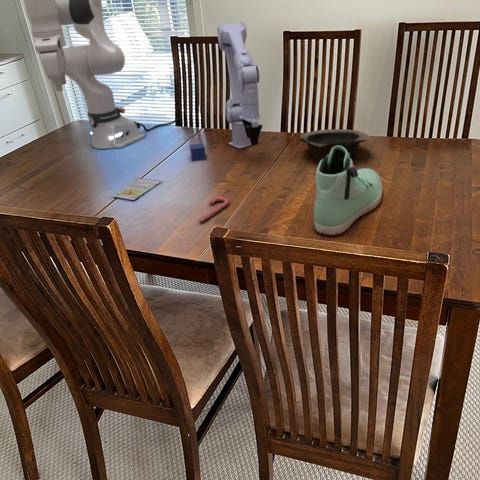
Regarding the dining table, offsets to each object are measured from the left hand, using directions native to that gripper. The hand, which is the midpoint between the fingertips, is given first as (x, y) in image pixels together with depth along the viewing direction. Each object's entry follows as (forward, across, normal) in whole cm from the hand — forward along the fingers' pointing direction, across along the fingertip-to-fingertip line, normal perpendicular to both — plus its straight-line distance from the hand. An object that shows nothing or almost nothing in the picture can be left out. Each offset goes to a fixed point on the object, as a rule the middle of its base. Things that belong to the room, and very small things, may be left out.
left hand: (61, 87), depth 152 cm
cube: (+33, -8, +41) cm, 53 cm away
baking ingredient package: (+33, +13, +18) cm, 39 cm away
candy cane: (+33, +37, +40) cm, 63 cm away
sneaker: (+33, +47, +78) cm, 97 cm away
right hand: (+25, +2, +60) cm, 65 cm away
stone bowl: (+33, +7, +89) cm, 95 cm away
